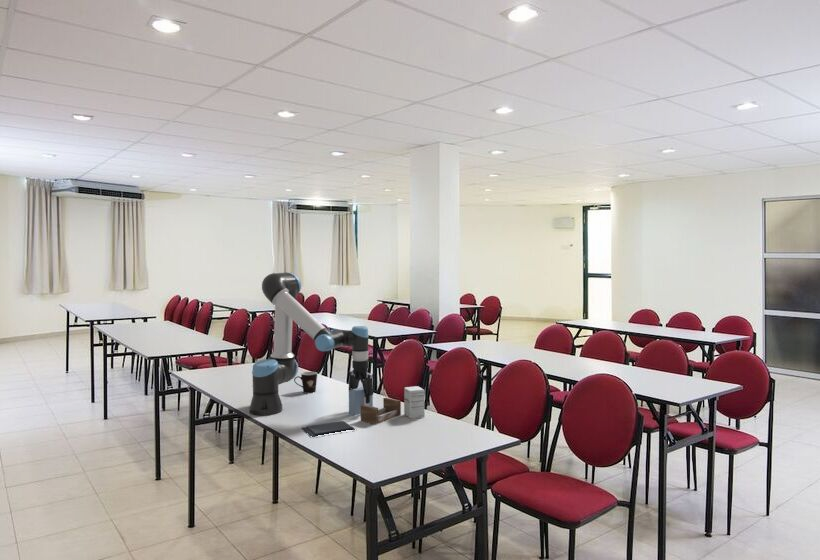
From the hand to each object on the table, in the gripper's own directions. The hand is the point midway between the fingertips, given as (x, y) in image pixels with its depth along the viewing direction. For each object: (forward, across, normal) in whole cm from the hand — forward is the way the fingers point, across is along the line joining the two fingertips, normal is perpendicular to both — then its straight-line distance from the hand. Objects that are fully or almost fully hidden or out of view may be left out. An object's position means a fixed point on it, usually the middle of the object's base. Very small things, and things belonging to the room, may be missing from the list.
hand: (360, 408), depth 260 cm
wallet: (+2, -7, +28) cm, 28 cm away
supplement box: (+2, -24, -10) cm, 26 cm away
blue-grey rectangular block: (+2, 0, 0) cm, 2 cm away
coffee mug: (+2, +50, -12) cm, 51 cm away
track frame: (+1, -14, +2) cm, 14 cm away
